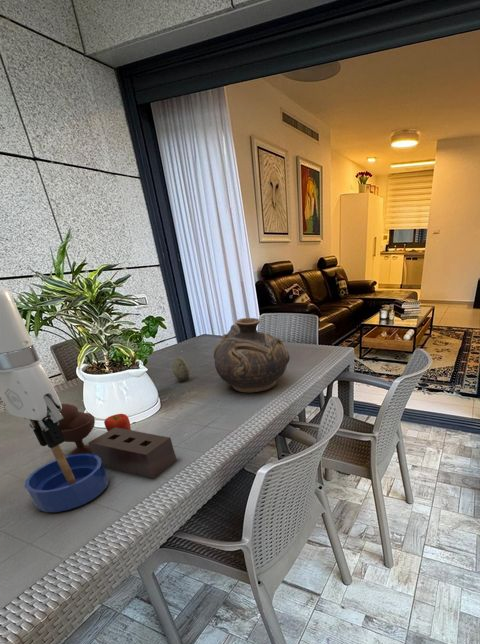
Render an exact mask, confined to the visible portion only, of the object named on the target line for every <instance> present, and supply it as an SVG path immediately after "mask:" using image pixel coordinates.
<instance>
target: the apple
mask: <svg viewBox="0 0 480 644" xmlns="http://www.w3.org/2000/svg"><path fill="white" fill-rule="evenodd" d="M103 423H104V427H105V429H106V432H108V431H110V430H111V429H113V428H115V427H116V428H121V429H127V430H131V426H132V425H131V422H130V418H129V417H128V415H127V414H125V413H117V414H113V415H110V416H108V417H106V418H105V419H104V421H103Z"/></svg>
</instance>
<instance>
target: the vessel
mask: <svg viewBox="0 0 480 644" xmlns="http://www.w3.org/2000/svg"><path fill="white" fill-rule="evenodd" d="M234 321H235V322H234V323H235V324H232V325H231V326H230V329H229V330H228V332H227V333H224V334H223V335H222V336H221V340H220V341H219V342H218V344H217V345H216V347H214V351H213V359H214V367H215V370H216V373H217V374H218V376H219V377H220V378H221V379H222V380H223V381H224V382H225V383H226V384H228V385H230V386H232V388H233V389H234V390H235V391H237V392H241V393H259V392H263V391H266V390H270V389H271V388H273V387H274V386H275V385H276V383H277V381H278V380H279V379H280V378H281V377H282V376H283V375H284V373H285V371H286V369H287V366H288V364H289V362H290V358H291V357H290V354H289V351H288V349H287V345H286V344H285V343H284V341H282V340H281V339H280V338H278V337H274V336H272V334H270V333H265V332H263V331H262V332H259V331H258V329H257V328H258V325H259V324H260V323H261V320H260V319H259V318H256V317H244V318H239V319H236V320H234Z"/></svg>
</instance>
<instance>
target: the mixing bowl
mask: <svg viewBox="0 0 480 644" xmlns="http://www.w3.org/2000/svg"><path fill="white" fill-rule="evenodd" d="M65 458H66V460H67V462H68V464H69V466H70V468H71V471H72V473H73V475H74V477H75V479H76V481H77V482H75V483H73V484H71V485H68V483H67V481H66V479H65V477H64V475H63V473H62V470H61V468H60V466H59V464H58V462H57V460H56V459H53V460H51V461H48V462H47V463H45V464H43V465H42V466H40V467H37V468H36V469H35V470H33V471H32V472H31V473H30V474H29V475H28V476H27V477H26V479H25V481H24V488H25V490H26V492H27V493H28V495H29V497H30V499H31V501H32V502H33V504H34V506H35V507H36V508H37V510H38V511H40V512H41V511H42V512H45V513H59V512H64V511H69V510H72V509H75V508H78V507H81V506H83V505H85V504H87V503H89V502H91V501H92V500H94V499H96V498H97V497H98V496H100V495H102V493H103V492H104V491H105V490H106V489H107V487H108V485H109V482H110V479H109V475H108V472H107V470H106V467H104V465H103V463H102V460H101V458H100V457H98V456H97V455H94V454H93V453H91V454H75V455H72V454H69V455H65Z"/></svg>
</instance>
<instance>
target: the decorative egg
mask: <svg viewBox="0 0 480 644" xmlns="http://www.w3.org/2000/svg"><path fill="white" fill-rule="evenodd" d="M172 366H173V367H172V371H173V375H174V377H175V378H176V379H177V380H178V381H180V382H185V381H187V380H188V379H189V377H190V373H191V372H190V369H189V365H188V364H187V361H186V360H185V359H184V358H183V357H181V356H175V358H174V361H173V365H172Z"/></svg>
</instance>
